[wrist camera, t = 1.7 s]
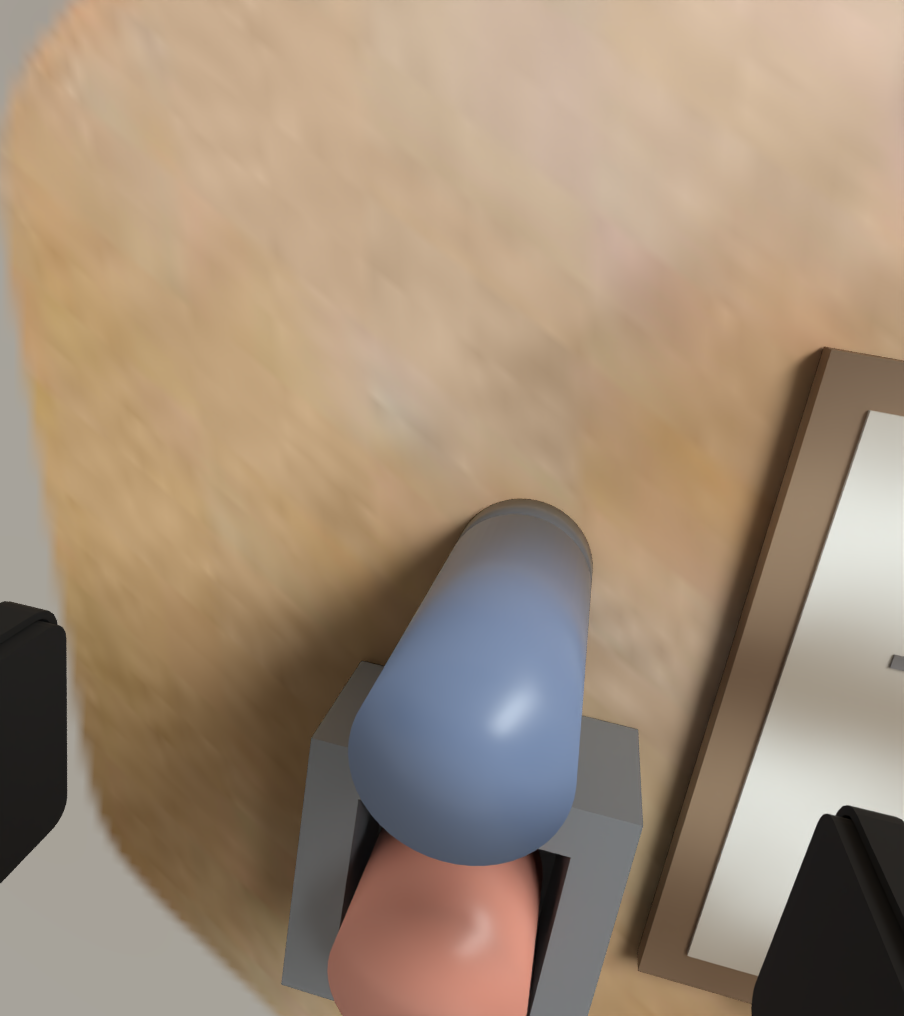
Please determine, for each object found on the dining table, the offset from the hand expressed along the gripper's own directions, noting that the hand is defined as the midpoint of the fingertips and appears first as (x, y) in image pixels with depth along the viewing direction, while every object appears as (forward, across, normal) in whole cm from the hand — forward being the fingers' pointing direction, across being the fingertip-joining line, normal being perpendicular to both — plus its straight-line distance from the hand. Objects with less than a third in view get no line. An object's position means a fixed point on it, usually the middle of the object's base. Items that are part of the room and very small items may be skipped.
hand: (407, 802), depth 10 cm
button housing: (+9, -1, +8) cm, 12 cm away
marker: (+9, -1, 0) cm, 9 cm away
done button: (+7, -1, +7) cm, 10 cm away
